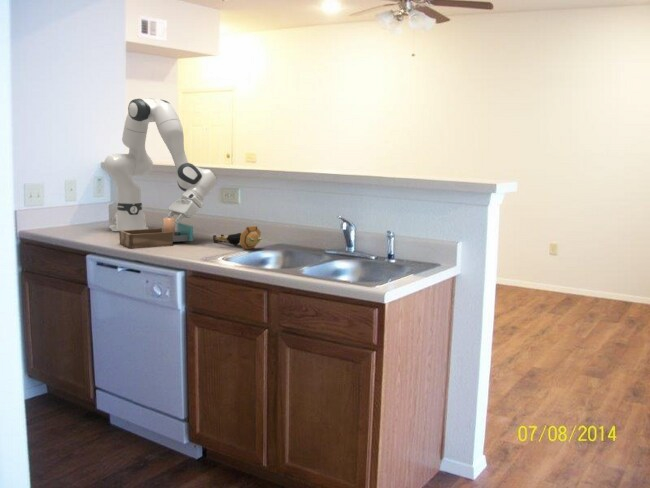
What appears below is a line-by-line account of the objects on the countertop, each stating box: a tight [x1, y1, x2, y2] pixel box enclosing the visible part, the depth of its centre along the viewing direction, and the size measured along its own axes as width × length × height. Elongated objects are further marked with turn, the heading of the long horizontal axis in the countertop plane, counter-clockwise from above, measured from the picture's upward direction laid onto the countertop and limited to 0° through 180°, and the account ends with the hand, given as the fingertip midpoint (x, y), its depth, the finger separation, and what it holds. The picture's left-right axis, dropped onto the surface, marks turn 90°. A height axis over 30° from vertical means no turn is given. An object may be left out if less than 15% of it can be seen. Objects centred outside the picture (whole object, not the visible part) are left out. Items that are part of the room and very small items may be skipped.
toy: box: [212, 225, 262, 250], centre depth 281 cm, size 18×10×30 cm
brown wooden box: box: [118, 227, 174, 249], centre depth 278 cm, size 14×19×6 cm
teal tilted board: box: [173, 221, 194, 243], centre depth 283 cm, size 15×19×7 cm
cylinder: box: [162, 217, 176, 236], centre depth 284 cm, size 5×5×9 cm
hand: (171, 221), depth 284 cm, fingers open, 8 cm apart
